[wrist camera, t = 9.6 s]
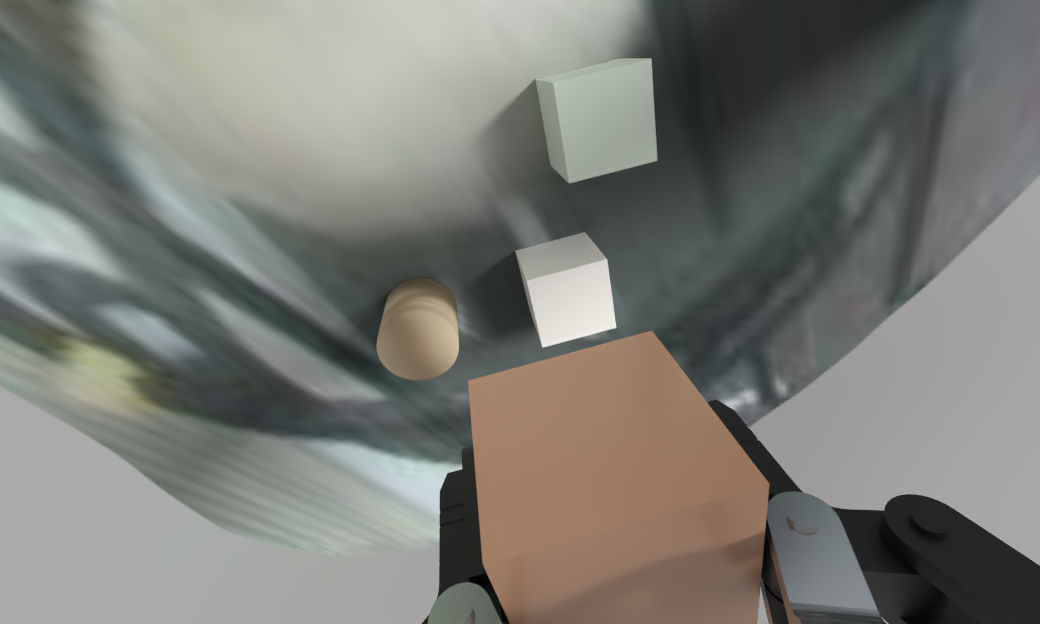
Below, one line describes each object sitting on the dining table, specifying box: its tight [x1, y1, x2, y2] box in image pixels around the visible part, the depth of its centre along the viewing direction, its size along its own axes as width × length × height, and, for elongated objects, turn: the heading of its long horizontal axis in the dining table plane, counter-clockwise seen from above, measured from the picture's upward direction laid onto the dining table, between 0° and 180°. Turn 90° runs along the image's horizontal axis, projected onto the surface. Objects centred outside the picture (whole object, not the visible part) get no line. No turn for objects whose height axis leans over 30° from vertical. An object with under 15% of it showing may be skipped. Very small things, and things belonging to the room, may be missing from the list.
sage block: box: [535, 58, 657, 183], centre depth 26 cm, size 5×5×5 cm
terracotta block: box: [468, 331, 769, 624], centre depth 11 cm, size 5×5×5 cm
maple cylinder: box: [376, 278, 459, 380], centre depth 30 cm, size 5×5×5 cm
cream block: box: [515, 232, 616, 348], centre depth 31 cm, size 5×5×5 cm
